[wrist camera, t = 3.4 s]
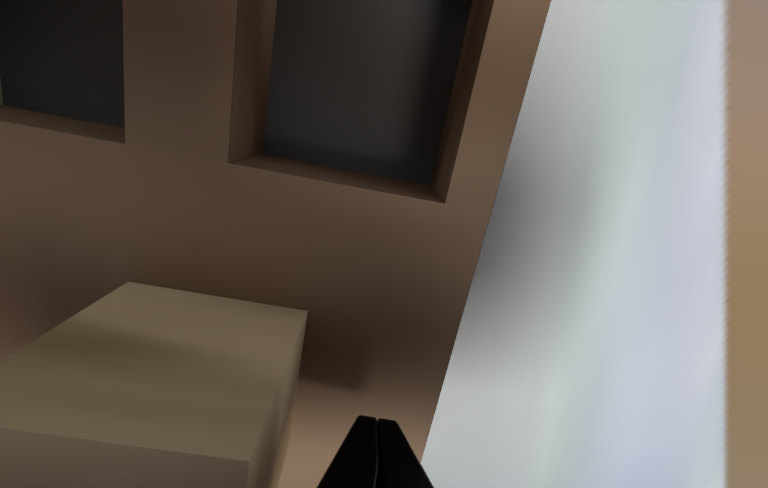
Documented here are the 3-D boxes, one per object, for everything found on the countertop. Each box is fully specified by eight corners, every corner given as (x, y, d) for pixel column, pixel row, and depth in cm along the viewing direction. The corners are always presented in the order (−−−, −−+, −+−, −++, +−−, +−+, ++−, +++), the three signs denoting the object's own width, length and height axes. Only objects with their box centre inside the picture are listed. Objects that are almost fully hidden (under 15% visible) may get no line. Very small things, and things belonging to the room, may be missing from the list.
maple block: (288, 446, 10) (230, 654, 6) (131, 424, 9) (-37, 626, 6) (308, 310, 9) (248, 461, 5) (127, 281, 8) (-87, 416, 4)
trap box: (399, 434, 13) (413, 665, 8) (-139, 357, 12) (-593, 560, 7) (524, -58, 9) (777, -377, 3) (-306, -254, 8) (-2207, -1299, 2)
